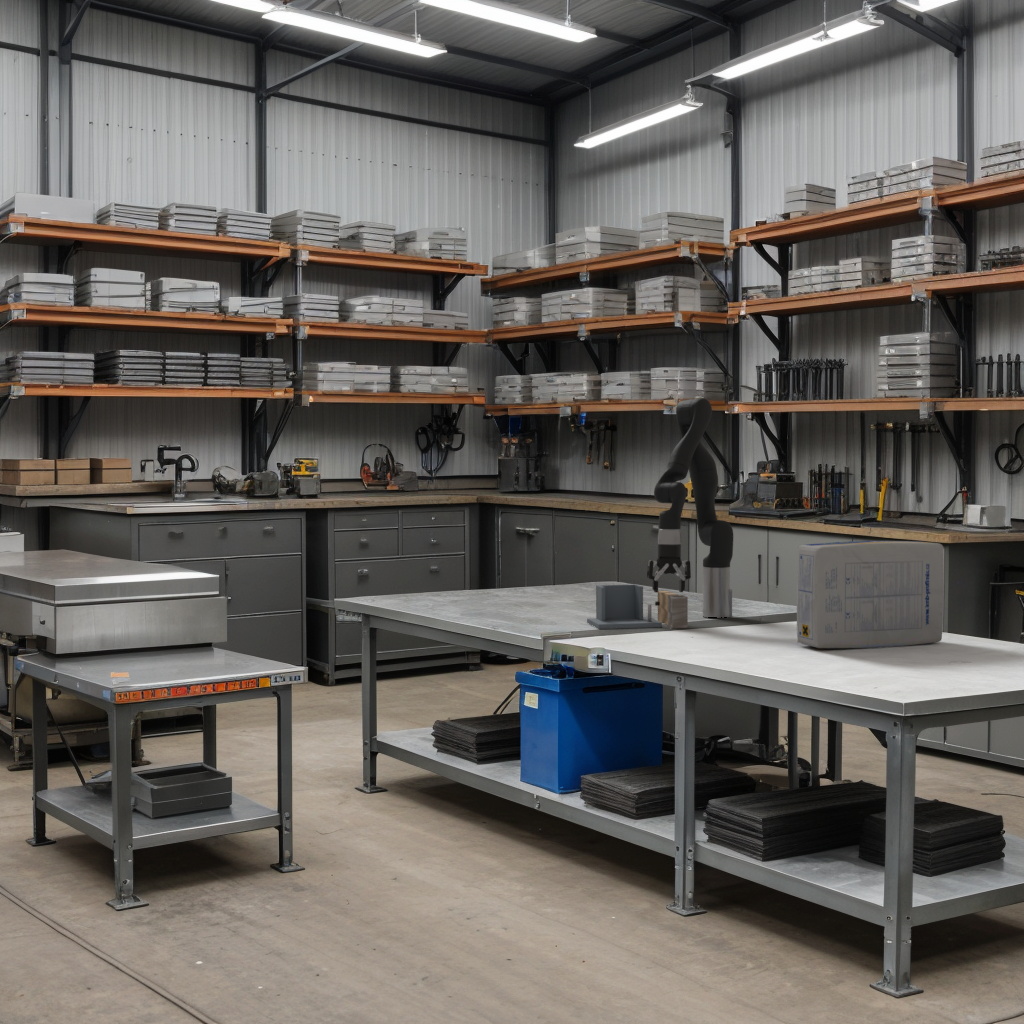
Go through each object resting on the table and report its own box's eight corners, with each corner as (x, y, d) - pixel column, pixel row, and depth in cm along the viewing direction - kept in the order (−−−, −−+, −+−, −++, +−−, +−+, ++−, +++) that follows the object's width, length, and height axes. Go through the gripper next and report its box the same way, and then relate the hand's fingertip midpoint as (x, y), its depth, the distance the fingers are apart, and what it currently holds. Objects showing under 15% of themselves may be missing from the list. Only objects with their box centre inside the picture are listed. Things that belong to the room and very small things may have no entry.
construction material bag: (920, 638, 364) (921, 538, 363) (944, 644, 353) (945, 541, 352) (794, 646, 351) (794, 542, 349) (816, 652, 340) (816, 545, 338)
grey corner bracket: (648, 621, 407) (648, 583, 406) (661, 627, 392) (661, 588, 391) (587, 623, 403) (587, 585, 402) (598, 629, 388) (598, 590, 387)
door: (687, 627, 390) (687, 596, 389) (672, 628, 389) (672, 597, 388) (669, 620, 408) (669, 590, 408) (654, 620, 407) (654, 591, 407)
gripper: (686, 542, 403) (685, 590, 404) (645, 542, 401) (644, 591, 401) (693, 543, 396) (692, 593, 396) (651, 543, 394) (650, 593, 394)
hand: (668, 592), depth 399 cm, fingers open, 8 cm apart
